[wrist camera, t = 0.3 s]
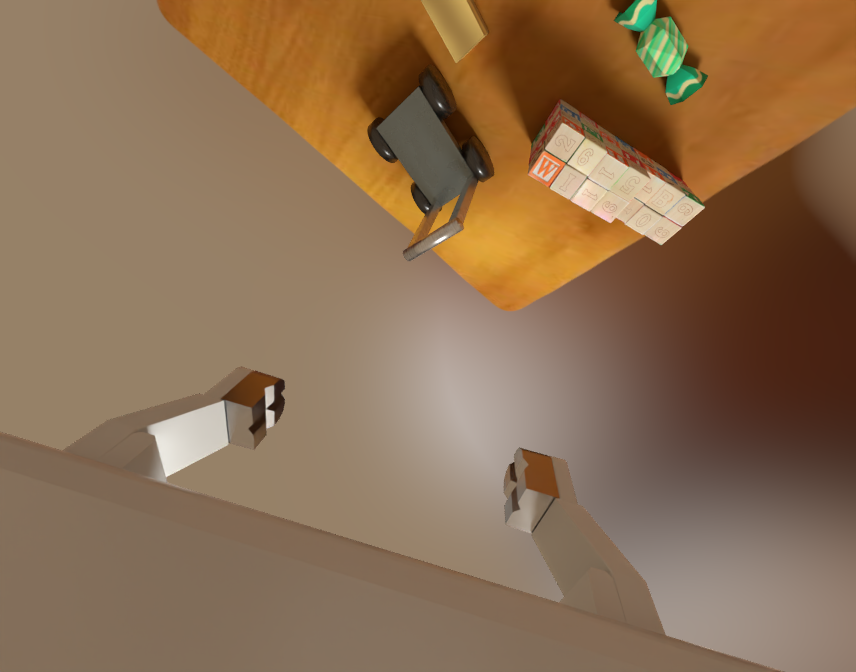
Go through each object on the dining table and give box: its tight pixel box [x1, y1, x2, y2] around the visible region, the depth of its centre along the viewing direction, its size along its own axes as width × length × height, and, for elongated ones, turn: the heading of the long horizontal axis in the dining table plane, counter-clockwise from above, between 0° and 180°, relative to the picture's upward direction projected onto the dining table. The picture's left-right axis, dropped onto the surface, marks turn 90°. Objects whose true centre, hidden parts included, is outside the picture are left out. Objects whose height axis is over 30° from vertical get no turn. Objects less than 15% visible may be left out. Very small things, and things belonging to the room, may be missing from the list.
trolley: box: [367, 64, 494, 261], centre depth 44 cm, size 16×12×20 cm
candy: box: [614, 0, 708, 105], centre depth 38 cm, size 12×3×4 cm
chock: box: [421, 0, 489, 63], centre depth 39 cm, size 4×8×5 cm, turn 39°
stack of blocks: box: [528, 99, 705, 245], centre depth 44 cm, size 21×6×12 cm, turn 66°
